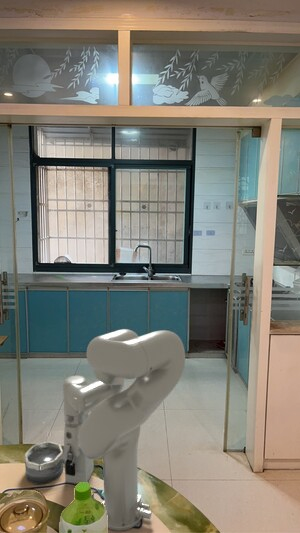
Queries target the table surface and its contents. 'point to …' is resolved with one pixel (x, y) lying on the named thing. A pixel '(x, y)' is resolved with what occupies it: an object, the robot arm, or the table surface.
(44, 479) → the bowl
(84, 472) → the supplement box
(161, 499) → the table surface
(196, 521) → the table surface
